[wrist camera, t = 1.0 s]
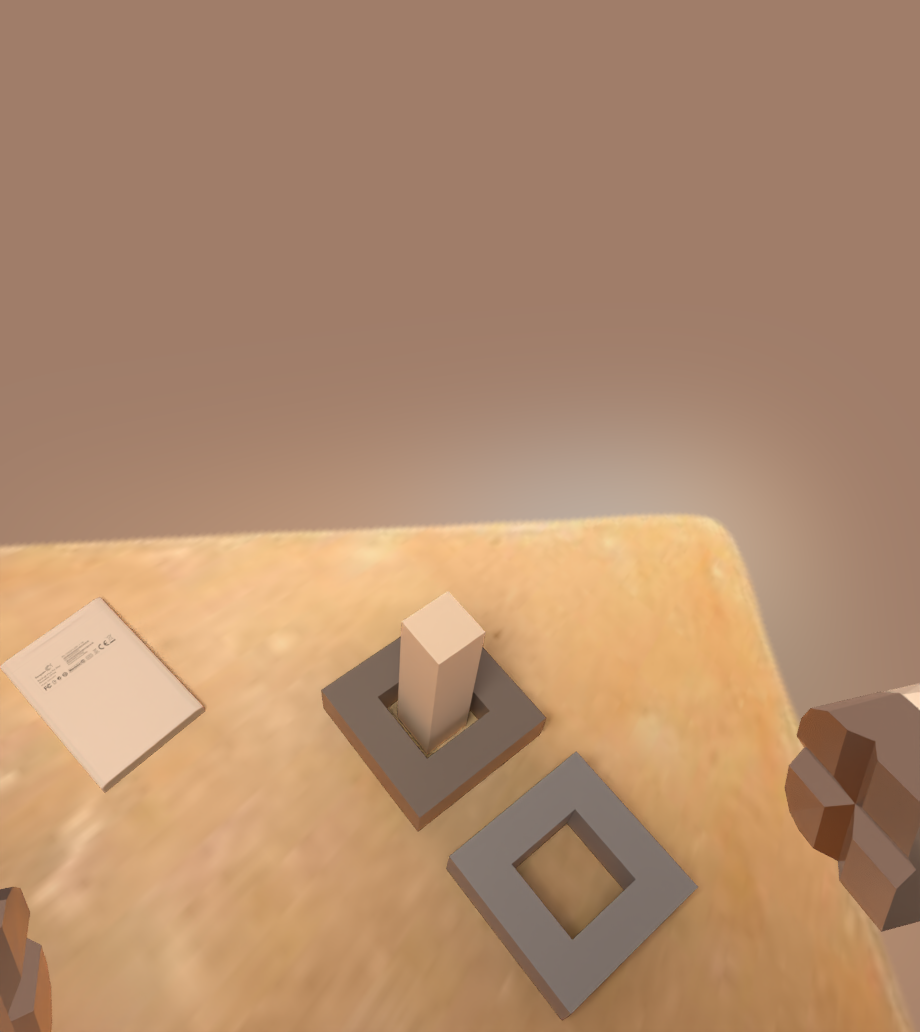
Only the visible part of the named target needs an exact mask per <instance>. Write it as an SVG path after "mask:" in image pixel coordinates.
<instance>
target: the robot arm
mask: <svg viewBox="0 0 920 1032" xmlns="http://www.w3.org/2000/svg"><path fill="white" fill-rule="evenodd" d="M797 737H798V738H799V740H800V742H801V743H802V745H803V746H804V749H803V750H802V751H801V752H800V753H799V754H798V756H797V757H796V758H795V759H794V760H793V761H792V763H791V764H790V765H789V768H788V774H787V779H786V784H785V792H786V797H787V801H788V806H789V811H790V813H791V815H792V817H793V819H794V821H795V823H796V825H797V827H798V829H799V831H800V832H801V833H802V835H803V836H804V837H805V838H806V840H807V841H808V842H809V843H810V845H811V846H812V847H813V848H814V849H816V850H818V851H820V852H822V853H824V854H825V855H827V856H829V857H831V858H833V859H835V860H837V861H838V867H839V881H840V882H841V883H842V884H843V886H844V887H845V888H846V889H847V890H848V892H849V893H850V894H851V895H852V897H853V898H854V899H855V900H856V901H857V903H858V904H859V905H860V906H861V908H862V909H863V910H864V911H865V912H866V914H867V915H868V916H869V917H870V919H871V920H872V921H873V922H874V923H875V925H876V926H877V927H878V928H879V929H880V931H881V932H882V931H885V930H889V929H892V928H896V927H900V926H904V925H908V924H911V923H915V922H918V921H920V683H918V684H914V685H910V686H905V687H901V688H896V689H892V690H888V691H886V692H877V693H873V694H869V695H865V696H860V697H856V698H852V699H848V700H844V701H839V702H835V703H831V704H827V705H822V706H818V707H814V708H810V710H809V711H808V712H807V713H806V714H805V715H804V716H803V717H802V718H801V721H800V725H799V729H798V732H797ZM29 917H30V911H29V908H28V906H27V903H26V901H25V898H24V896H23V893H22V891H21V888H17V887H10V888H5V889H0V1032H51V1030H52V1000H51V984H50V978H49V972H48V966H47V962H46V958H45V955H44V952H43V949H42V946H41V945H40V944H38V943H36V942H34V941H32V940H30V939H28V938H27V932H28V924H29Z"/></svg>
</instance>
